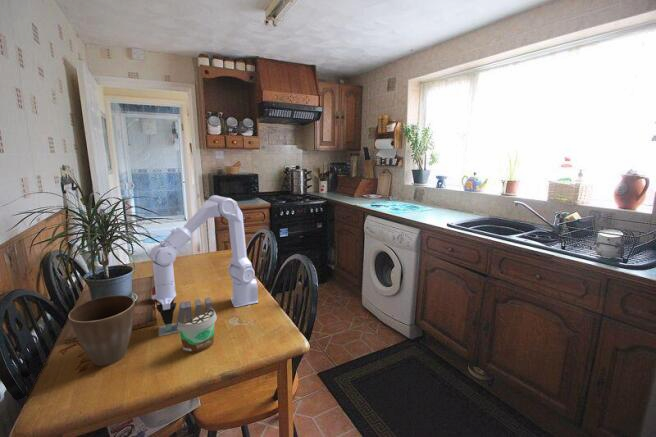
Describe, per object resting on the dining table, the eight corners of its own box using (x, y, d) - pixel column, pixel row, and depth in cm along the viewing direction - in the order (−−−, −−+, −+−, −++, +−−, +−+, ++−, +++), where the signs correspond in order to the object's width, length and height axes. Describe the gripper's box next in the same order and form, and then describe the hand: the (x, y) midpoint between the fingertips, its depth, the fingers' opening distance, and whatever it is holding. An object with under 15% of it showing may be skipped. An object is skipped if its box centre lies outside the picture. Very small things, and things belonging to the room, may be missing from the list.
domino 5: (210, 317, 113) (209, 297, 111) (212, 323, 109) (211, 302, 107) (206, 318, 112) (205, 298, 111) (207, 324, 108) (206, 303, 107)
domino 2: (181, 323, 109) (185, 302, 108) (182, 330, 105) (186, 307, 104) (176, 324, 108) (180, 302, 107) (177, 330, 104) (180, 307, 103)
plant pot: (133, 369, 86) (127, 316, 82) (67, 381, 81) (57, 325, 77) (144, 339, 99) (139, 292, 96) (87, 348, 94) (80, 299, 91)
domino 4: (201, 319, 111) (200, 299, 110) (202, 325, 108) (201, 304, 106) (196, 320, 111) (195, 299, 109) (197, 326, 107) (196, 305, 105)
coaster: (178, 323, 109) (178, 322, 109) (179, 332, 104) (179, 331, 104) (158, 327, 106) (158, 326, 106) (158, 336, 101) (158, 336, 101)
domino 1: (170, 323, 107) (169, 301, 105) (171, 329, 103) (169, 307, 101) (165, 324, 106) (163, 302, 104) (165, 330, 102) (163, 308, 101)
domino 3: (191, 321, 110) (190, 300, 108) (192, 328, 106) (191, 306, 105) (186, 322, 109) (185, 301, 108) (187, 329, 105) (186, 307, 104)
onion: (162, 304, 122) (160, 284, 120) (149, 302, 123) (147, 283, 121) (172, 297, 128) (170, 279, 126) (159, 295, 129) (158, 277, 127)
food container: (191, 361, 89) (189, 330, 87) (178, 354, 93) (176, 323, 91) (226, 340, 100) (225, 311, 98) (213, 334, 103) (212, 306, 101)
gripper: (151, 275, 106) (154, 312, 108) (149, 292, 93) (153, 334, 96) (174, 272, 109) (177, 308, 112) (176, 288, 96) (179, 328, 99)
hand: (168, 319), depth 104 cm, fingers closed on domino 1, 4 cm apart
